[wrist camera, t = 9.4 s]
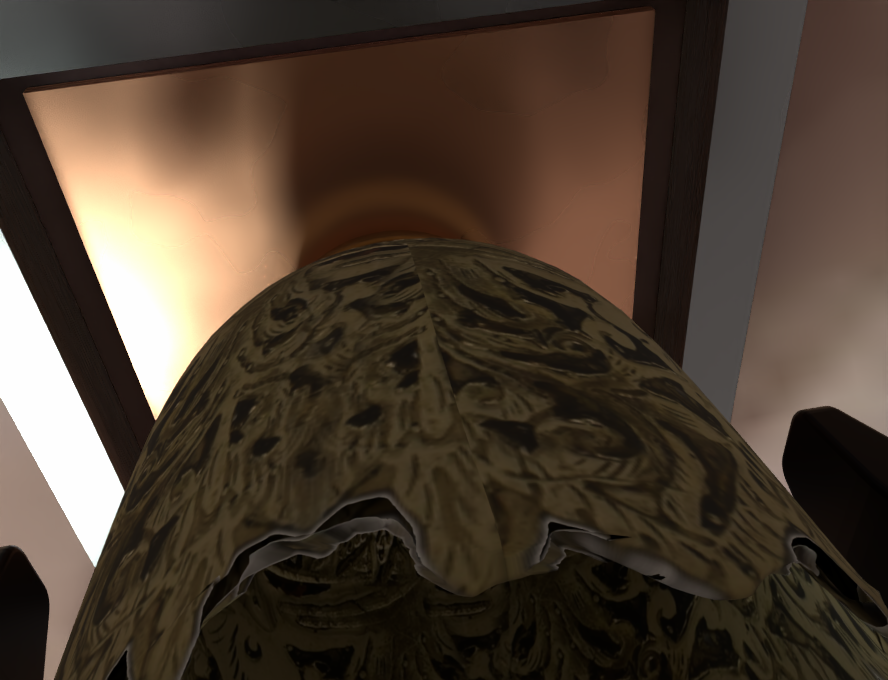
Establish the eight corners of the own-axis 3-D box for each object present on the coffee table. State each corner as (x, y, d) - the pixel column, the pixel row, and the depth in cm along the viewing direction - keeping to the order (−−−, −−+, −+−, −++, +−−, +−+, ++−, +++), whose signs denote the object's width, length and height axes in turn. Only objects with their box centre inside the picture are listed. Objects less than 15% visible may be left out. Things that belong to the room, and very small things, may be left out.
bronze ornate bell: (593, 8, 10) (1071, 443, 4) (643, 411, 15) (907, 914, 9) (39, 176, 11) (-324, 842, 4) (255, 525, 15) (235, 1098, 9)
